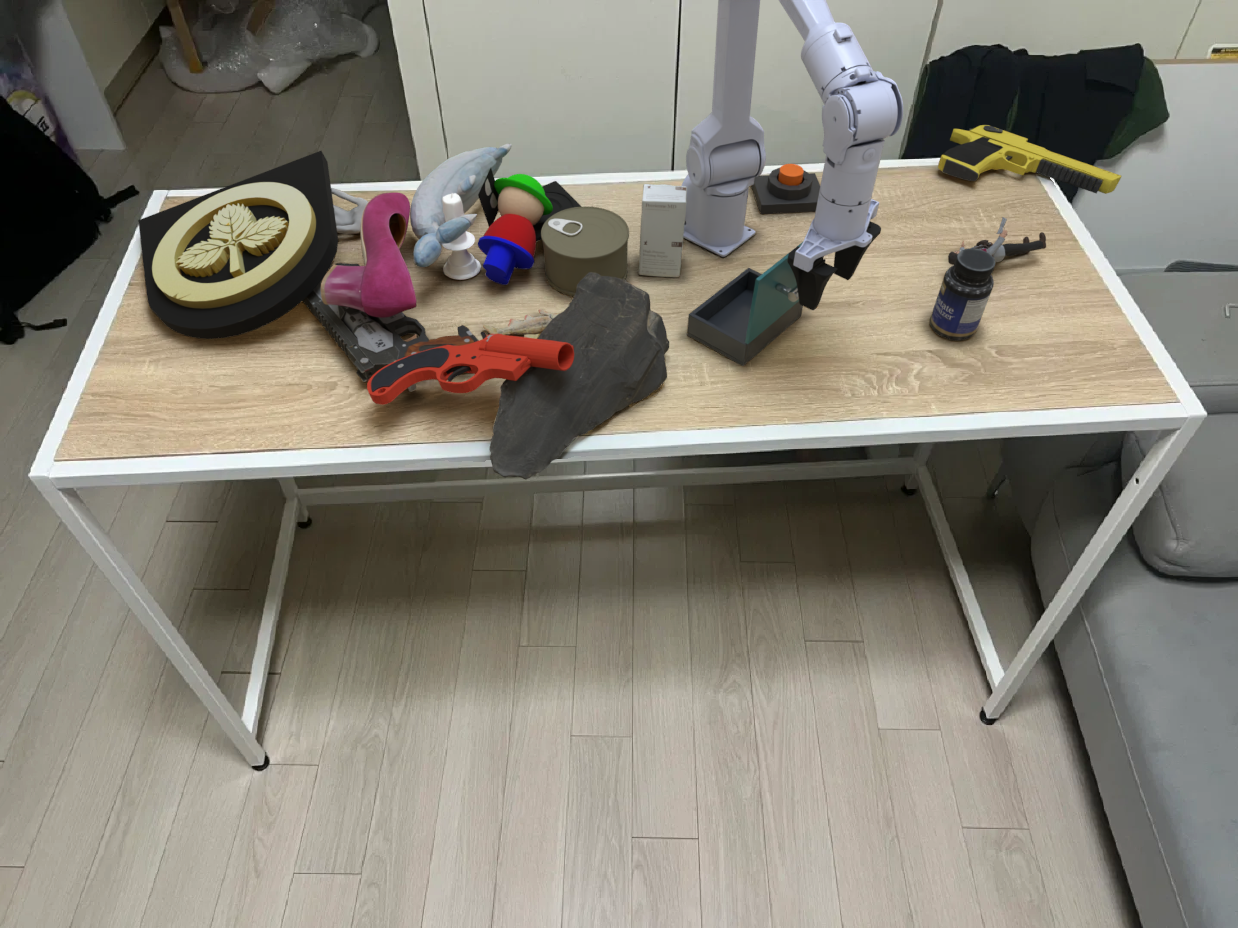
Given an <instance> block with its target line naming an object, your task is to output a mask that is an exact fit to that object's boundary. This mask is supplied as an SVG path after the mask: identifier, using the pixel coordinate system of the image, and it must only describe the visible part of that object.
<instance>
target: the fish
mask: <svg viewBox="0 0 1238 928" xmlns="http://www.w3.org/2000/svg"><path fill="white" fill-rule="evenodd" d="M538 313H539V314H540V315H539V316H533V315H531V314H525V315H524V318H523V319H524V320H522V321H521V320H519V319H516V318H510V319H509V321H508V324H507V326H506V327H499V328H498V327H493V326H491V325H487V324H484V325H482V328H483V329H484V330H485V331H486V332H487V333H488V334H503V335H508V336H523V337H526V338H535V339H537V338H538V337H539V336H540V334H541V333H542V331H543V330H544V329H545V327H546V326H547V325H548V324H549V323H550V321H551V320H552V319H553V318H555V317H556V316H557V315H558V314H560V313H561V312H554V313H549V312H548V311H546V310H545V309H541V308H540V309H539V308H538Z"/></svg>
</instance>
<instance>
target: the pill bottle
mask: <svg viewBox="0 0 1238 928" xmlns="http://www.w3.org/2000/svg"><path fill="white" fill-rule="evenodd" d="M995 267H996V262H995V259H994V258H993V256H992V255H991V254H989V253H987V252H986V251H983V250H980V249H974V248H972V247H971V249H970V248H964V250H962V251H960V252H959V253H958V255H957V258H956V260H955V265H952V266H949V268H948V269H947V270H946V271H945V273H944V276H943V279H942V281H941V284H940V288H939V290H938V294H937V296H936V300H935V303H934V306H933V309H932V312H931V314H930V317H929V326H930V328H931V329H932V330H933V332H934V333H935V334H936V335H937V336H939V337H941V338H944V339H947V340H949V341H956V342H957V341H958V342H961V341H966V340H968V339H971V338H972V337H973V336H974V335H975V334H976V332H977V330H978V327H979V325H980V322H981V320H982V317H983V315H984V312H985V309H986V307H987V305H988V302H989V299H990V297H991V294H992V291H993V288H994V285H995V280H994V277H993V275H992V274H993V272H994V271H995Z"/></svg>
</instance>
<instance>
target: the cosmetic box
mask: <svg viewBox="0 0 1238 928" xmlns="http://www.w3.org/2000/svg"><path fill="white" fill-rule="evenodd" d="M686 199H687V187H686V186H682V185H672V184H665V183H663V184H652V183H651V184H650V183H643V186H642V198H641V214H640V215H641V216H640V230H639V231H640V233H639V255H638V256H639V258H638V275H640V276H649V277H663V278H679V277H680V276H681V269H682V268H681V266H682V257H683V245H684V238H683V235H684V224H685V214H686Z"/></svg>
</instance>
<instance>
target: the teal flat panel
mask: <svg viewBox="0 0 1238 928" xmlns="http://www.w3.org/2000/svg"><path fill="white" fill-rule="evenodd" d="M802 243H803V241H802V242H800V243H799V244H798V245H797V246H798V247H800V246H801V245H802ZM795 248H796V247H793V249H795ZM790 252H791V251H789V252H788V253H787V254H785V255H784V256H783V257H781V258H780V259H779V260H778V261H777V262H775V263H774V264H772V266H770V267H769V268H768V269H767V270H765V271H764V272H763V273H761V274H762V275H760V276H759V277H758V278H757V279H756V281H755V287H754V293H753V299H752V305H751V310H750V316H749V322H748V328H747V334H746V339H745V343H747V344H749V343H750V342H751V341H752V340H754V339H755V338H756V337H757V336H758V335H760V334H761V333H762V332H763V331H764V330H765V329H767V328H768V327H769V326H770V325H771V324H773V323H774V322H775V321H776V320H777V319H778V318H780V317H781V316H782V315H783V314H784V313H785V312H787V311H788V310H789V309H790V308H791V307H793V306H794V305H795V304H796V303H797V302H798V301H799V297H798V289H797V283H796V279H795V276H794V273H793V271H792V269H791V267H790V265H789V264H788V262H787V261H788V254H789V253H790Z"/></svg>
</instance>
